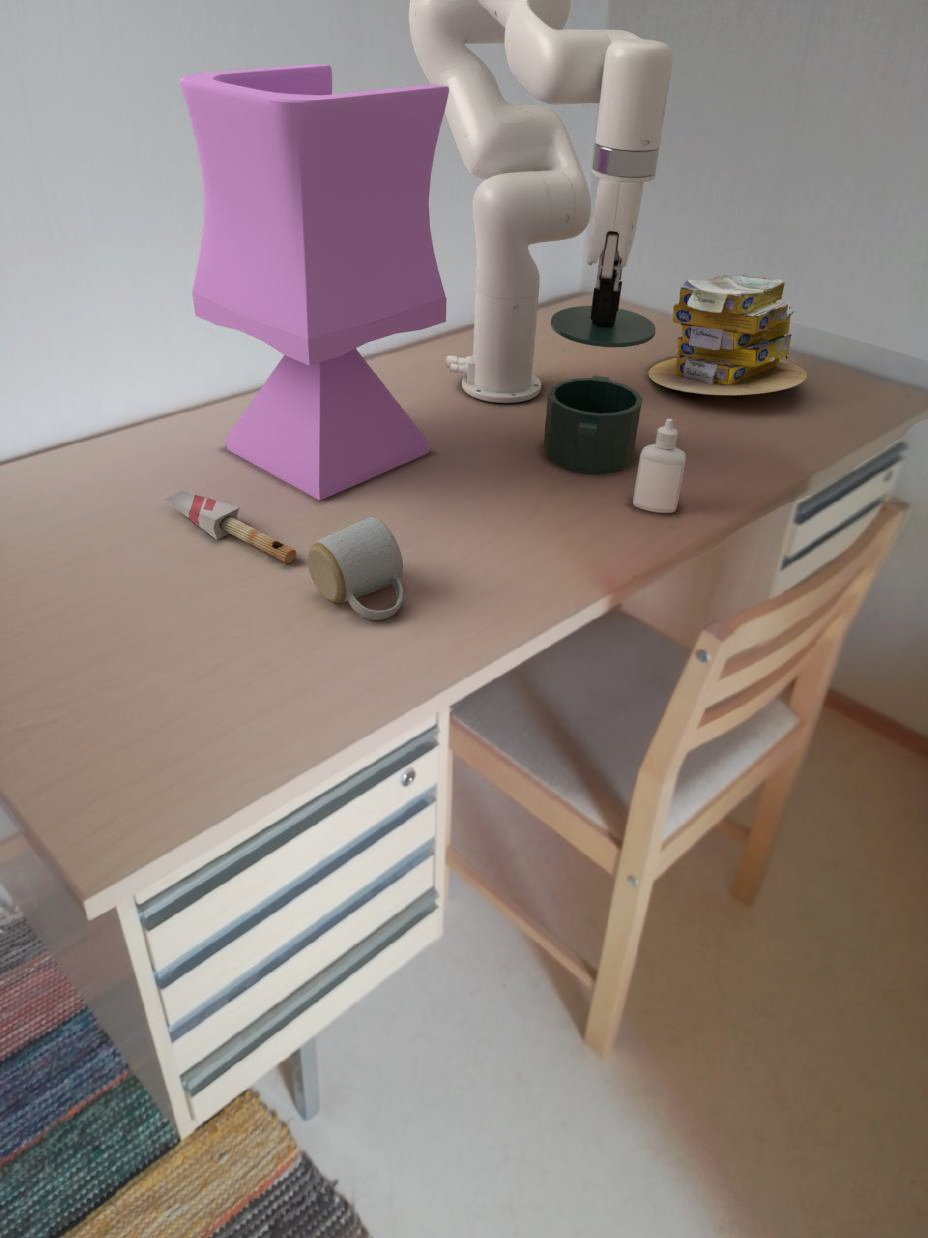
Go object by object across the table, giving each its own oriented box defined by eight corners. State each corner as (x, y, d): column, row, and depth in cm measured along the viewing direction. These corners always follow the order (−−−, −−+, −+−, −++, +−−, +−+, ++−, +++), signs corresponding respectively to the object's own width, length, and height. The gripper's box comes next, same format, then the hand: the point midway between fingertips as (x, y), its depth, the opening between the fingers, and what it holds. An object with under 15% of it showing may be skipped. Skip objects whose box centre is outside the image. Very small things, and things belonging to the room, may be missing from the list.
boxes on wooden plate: (618, 371, 160) (632, 269, 150) (724, 346, 171) (744, 250, 161) (723, 427, 143) (747, 316, 133) (833, 396, 154) (863, 292, 144)
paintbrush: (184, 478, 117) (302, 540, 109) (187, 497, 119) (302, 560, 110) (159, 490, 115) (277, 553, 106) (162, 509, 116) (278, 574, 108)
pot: (534, 475, 128) (539, 416, 123) (552, 421, 143) (558, 366, 138) (628, 488, 126) (637, 429, 121) (637, 431, 141) (645, 376, 136)
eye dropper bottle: (661, 520, 120) (677, 432, 113) (626, 503, 123) (640, 416, 116) (682, 509, 122) (699, 422, 115) (647, 493, 125) (662, 407, 118)
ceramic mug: (304, 587, 105) (300, 527, 100) (365, 563, 109) (364, 504, 105) (360, 635, 99) (358, 573, 94) (422, 607, 103) (424, 547, 98)
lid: (542, 344, 120) (547, 295, 117) (557, 309, 131) (562, 263, 127) (650, 357, 118) (659, 308, 115) (657, 321, 129) (664, 274, 125)
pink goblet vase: (442, 453, 133) (452, 85, 106) (318, 508, 119) (293, 103, 92) (336, 404, 144) (321, 62, 118) (212, 449, 131) (163, 75, 104)
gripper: (600, 145, 119) (582, 293, 130) (585, 173, 106) (567, 334, 117) (660, 151, 118) (637, 299, 129) (652, 180, 105) (628, 341, 116)
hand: (604, 314), depth 123 cm, fingers closed on lid, 3 cm apart
